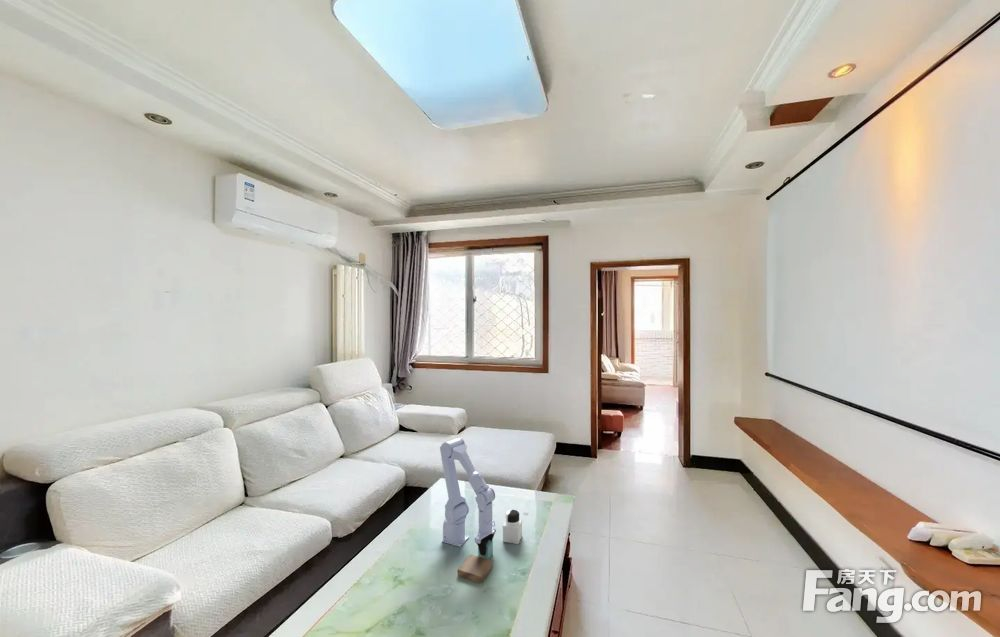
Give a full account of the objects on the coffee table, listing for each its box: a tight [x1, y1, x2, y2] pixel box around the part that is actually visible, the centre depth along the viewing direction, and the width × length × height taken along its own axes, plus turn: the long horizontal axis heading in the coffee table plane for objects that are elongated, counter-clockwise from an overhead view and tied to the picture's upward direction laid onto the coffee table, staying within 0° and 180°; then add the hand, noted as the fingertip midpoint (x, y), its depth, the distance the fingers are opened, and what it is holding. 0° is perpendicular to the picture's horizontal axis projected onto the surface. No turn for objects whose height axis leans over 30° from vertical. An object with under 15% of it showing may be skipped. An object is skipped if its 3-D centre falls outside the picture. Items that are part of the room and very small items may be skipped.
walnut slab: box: [457, 554, 493, 584], centre depth 148 cm, size 10×10×3 cm
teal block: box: [477, 540, 494, 560], centre depth 159 cm, size 4×4×5 cm
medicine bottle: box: [502, 509, 523, 545], centre depth 170 cm, size 7×7×12 cm
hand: (485, 551), depth 159 cm, fingers closed on teal block, 4 cm apart
